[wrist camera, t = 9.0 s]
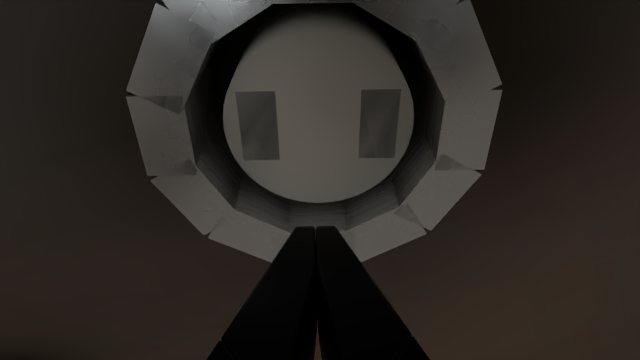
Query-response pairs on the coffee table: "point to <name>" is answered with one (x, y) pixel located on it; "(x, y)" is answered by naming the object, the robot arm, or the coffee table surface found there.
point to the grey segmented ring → (285, 214)
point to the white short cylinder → (318, 105)
